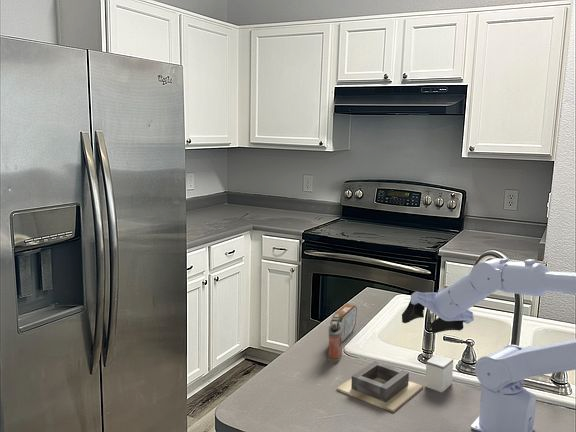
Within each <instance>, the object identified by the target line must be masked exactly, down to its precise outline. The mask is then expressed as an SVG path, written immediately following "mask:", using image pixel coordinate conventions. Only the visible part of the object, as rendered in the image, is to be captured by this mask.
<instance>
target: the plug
mask: <svg viewBox="0 0 576 432" xmlns="http://www.w3.org/2000/svg"><path fill="white" fill-rule="evenodd" d="M453 371H454V358H452V357H449V356H445V355H442V354H439V353H435V355H433V356H431V357H430V358H429V359H428V360H426V365H425V378H424V379H425V380H424V381H425V382H424V385H425V388H427V389H428V388H429V389H431V390H434V391H437V392H439V393H444V392H445V391H446V390H447V389H448V388H449V387H450V386H451V385H452V384H453Z"/></svg>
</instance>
